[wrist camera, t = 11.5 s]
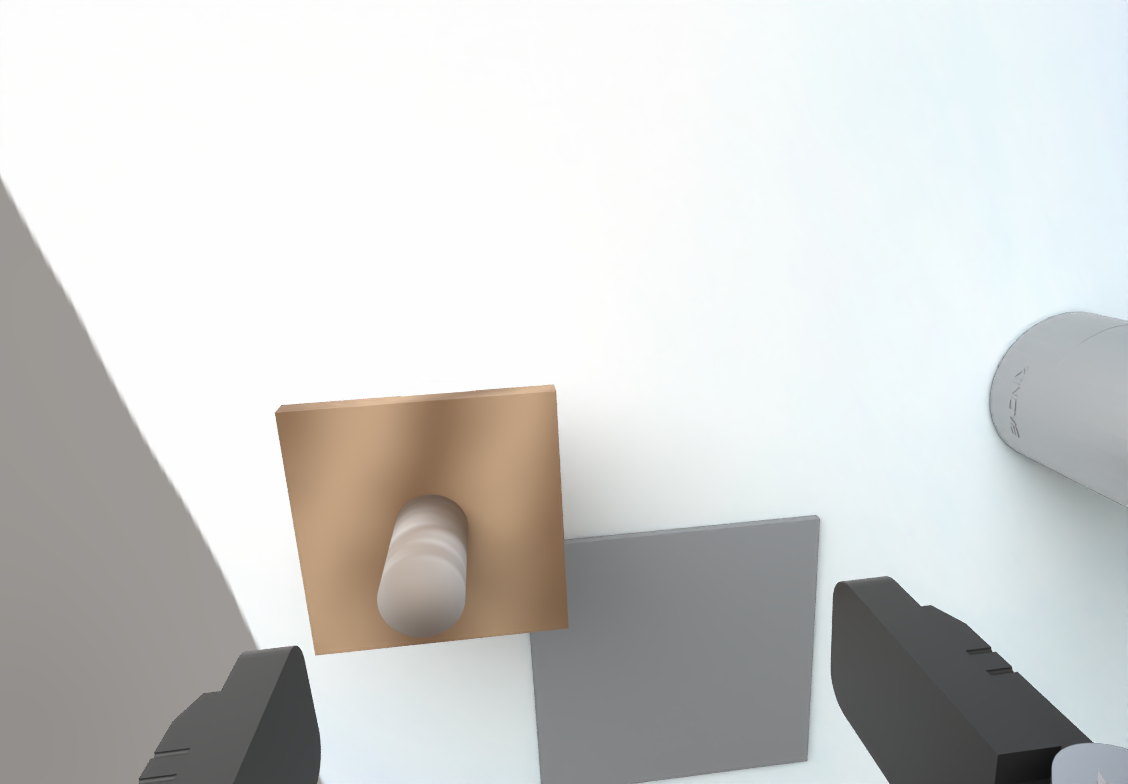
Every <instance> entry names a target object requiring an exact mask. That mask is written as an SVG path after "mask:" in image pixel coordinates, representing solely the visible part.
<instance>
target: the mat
mask: <svg viewBox="0 0 1128 784" xmlns="http://www.w3.org/2000/svg"><path fill="white" fill-rule="evenodd" d="M819 523H820V519H819V518H818V517H817V516H816V515H813V516H803V517H793V518H783V519H773V520H763V521H752V522H742V523H732V524H722V525H712V526H702V527H692V528H681V529H671V530H661V531H651V532H641V533H631V534H621V535H610V536H600V537H590V538H580V539H570V540H564V551H565V569H566V588H567V607H568V626H569V628H567V629H558V630H549V631H539V632H530V640H531V653H532V667H533V680H534V694H535V707H536V721H537V734H538V748H539V761H540V775H541V784H633V783H641V782H648V781H656V780H664V779H671V778H679V777H687V776H695V775H702V774H710V773H718V772H725V771H733V770H741V769H748V768H756V767H764V766H771V765H779V764H787V763H795V762H802V761H807V754H808V735H809V715H810V696H811V677H812V658H813V639H814V619H815V600H816V581H817V562H818V542H819Z"/></svg>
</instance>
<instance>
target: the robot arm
mask: <svg viewBox="0 0 1128 784" xmlns="http://www.w3.org/2000/svg"><path fill="white" fill-rule="evenodd" d="M990 410H991V414H992V419H993V423H994V425H995V427H996V429H997V431H998V434H999V435H1000V437H1001V438H1002V439H1003V440H1004V441H1005V442H1006V444H1007V445H1008V446H1010V447H1011V448H1013V449H1014V450H1016V451H1017V452H1019V453H1020V454H1022V455H1024V456H1026V457H1028V458H1030V459H1032V460H1034V461H1036V462H1038V463H1040V464H1042V465H1044V466H1046V467H1048V468H1050V469H1052V470H1054V471H1056V472H1058V473H1060V474H1062V475H1064V476H1066V477H1067V478H1069V479H1071V480H1073V481H1075V482H1077V483H1079V484H1081V485H1083V486H1085V487H1087V488H1089V489H1091V490H1093V491H1095V492H1097V493H1099V494H1101V495H1103V496H1105V497H1107V498H1109V499H1111V500H1113V501H1115V502H1117V503H1119V504H1121V505H1123V506H1125V507H1127V508H1128V321H1126V320H1121V319H1116V318H1112V317H1107V316H1102V315H1098V314H1092V313H1086V312H1069V313H1063V314H1060V315H1056V316H1053V317H1050V318H1048V319H1046V320H1044V321H1042V322H1040V323H1038V324H1036V325H1035V326H1033V327H1032V328H1031V329H1029V330H1028V331H1027V332H1025V333H1024V334H1023V335H1021V337H1020V338H1019V339H1018V340H1017V341H1016V342H1015V343H1014V344H1013V345H1012V346H1011V347H1010V349H1009V350H1008V352H1007V353H1006V355H1005V356H1004V358H1003V359H1002V361H1001V362H1000V365H999V367H998V369H997V372H996V374H995V376H994V380H993V384H992V389H991V393H990ZM831 678H832V684H833V688H834V692H835V695H836V698H837V701H838V704H839V706H840V708H841V710H842V712H843V713H844V715H845V717H846V718H847V720H848V721H849V723H850V724H851V726H852V727H853V729H854V730H855V732H856V733H857V735H858V736H859V738H860V739H861V741H862V742H863V744H864V745H865V747H866V748H867V750H868V751H869V753H870V755H871V756H872V758H873V759H874V761H875V762H876V764H877V765H878V767H879V768H880V770H881V771H882V773H883V774H884V776H885V777H886V779H887V780H888V782H889V783H890V784H1128V749H1126V748H1122V747H1118V746H1114V745H1108V744H1100V743H1093V742H1092V741H1091V740H1090V739H1089V738H1088V737H1087V736H1086V735H1084V734H1083V733H1082V732H1081V731H1080V730H1079V729H1078V728H1077V727H1076V726H1075V725H1074V724H1073V723H1072V722H1071V721H1069V720H1068V719H1067V718H1066V717H1065V716H1064V715H1063V714H1062V713H1061V712H1060V711H1059V710H1058V709H1057V708H1056V707H1054V706H1053V705H1052V704H1051V703H1050V702H1049V701H1048V700H1047V699H1046V698H1045V697H1044V696H1043V695H1042V694H1041V693H1039V692H1038V691H1037V690H1036V689H1035V688H1034V687H1033V686H1032V685H1031V684H1030V683H1029V682H1028V681H1027V680H1026V679H1025V678H1023V677H1022V676H1021V675H1020V674H1019V673H1018V672H1013V670H1012V666H1011V665H1010V664H1008V663H1007V662H1006V661H1005V660H1004V659H1003V658H1002V657H1001V656H1000V655H999V654H998V653H997V652H992V650H991V647H990V646H989V645H988V644H987V643H986V642H985V641H984V640H983V639H982V638H981V637H980V636H978V635H977V634H976V633H975V632H974V631H973V630H972V629H971V628H970V627H969V626H968V625H967V624H965V623H964V622H962V621H960V620H958V619H956V618H954V617H952V616H950V615H948V614H947V613H945V612H943V611H941V610H939V609H937V608H935V607H933V606H931V605H929V606H920V605H919V604H918V603H917V602H916V601H915V600H914V599H913V598H912V597H911V596H910V595H909V594H908V593H907V592H906V591H905V590H904V589H903V588H902V587H901V586H900V585H899V584H898V583H897V582H896V581H895V580H893V579H892V578H890V577H888V576H884V577H876V578H867V579H859V580H851V581H842V582H839V583H837V584H836V586H835V588H834V593H833V611H832V641H831ZM154 753H155V756H154V758H153V759H150V761H149V763H148V764H147V766H146V768H145V769H144V771H143V773H142V775H141V776H140V778H139V784H317V781H318V776H319V770H320V760H321V744H320V734H319V728H318V723H317V718H316V714H315V709H314V704H313V699H312V694H311V689H310V684H309V679H308V674H307V670H306V665H305V660H304V656H303V653H302V651H301V649H300V648H299V647H298V646H289V647H280V648H272V649H264V650H256V651H247V652H244V653H242V654H241V655H240V657H239V658H238V660H237V662H236V664H235V665H234V667H233V669H232V671H231V673H230V675H229V677H228V679H227V681H226V683H225V684H224V686H223V688H222V690H221V691H219V692H211V693H204V694H202V695H201V696H200V697H199V698H198V699H197V700H196V701H195V702H194V703H193V704H191V705H190V706H189V707H188V708H187V709H186V710H185V711H184V712H183V713H182V714H180V715H179V716H178V717H177V718H176V719H175V720H174V721H173V722H172V724H171V725H170V727H169V729H168V730H167V732H166V734H165V735H164V737H163V739H162V741H161V742H160V744H159V746H158V747H157V749H156V751H155V752H154Z"/></svg>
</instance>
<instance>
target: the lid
mask: <svg viewBox="0 0 1128 784" xmlns="http://www.w3.org/2000/svg"><path fill="white" fill-rule="evenodd" d="M275 416H276V422H277V428H278V434H279V440H280V446H281V452H282V458H283V464H284V470H285V476H286V482H287V488H288V494H289V500H290V506H291V512H292V518H293V524H294V530H295V536H296V542H297V548H298V554H299V560H300V566H301V572H302V578H303V584H304V590H305V596H306V602H307V608H308V614H309V620H310V626H311V632H312V638H313V644H314V650H315V655H324V654H333V653H342V652H352V651H361V650H370V649H380V648H389V647H399V646H408V645H417V644H427V643H436V642H445V641H455V640H464V639H474V638H483V637H492V636H502V635H511V634H520V633H530V632H539V631H549V630H558V629H567V628H569V626H568V607H567V588H566V569H565V551H564V532H563V513H562V494H561V475H560V456H559V437H558V419H557V400H556V390H555V387H554V385H542V386H529V387H516V388H503V389H489V390H476V391H463V392H450V393H437V394H424V395H410V396H397V397H384V398H371V399H358V400H344V401H331V402H318V403H305V404H292V405H281V407H280V408H279V409H278V410H277V411H276V412H275Z"/></svg>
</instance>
